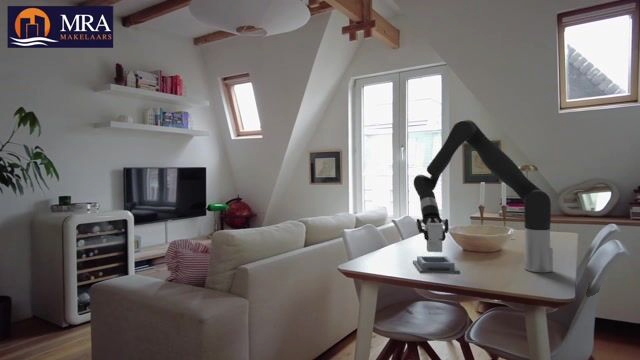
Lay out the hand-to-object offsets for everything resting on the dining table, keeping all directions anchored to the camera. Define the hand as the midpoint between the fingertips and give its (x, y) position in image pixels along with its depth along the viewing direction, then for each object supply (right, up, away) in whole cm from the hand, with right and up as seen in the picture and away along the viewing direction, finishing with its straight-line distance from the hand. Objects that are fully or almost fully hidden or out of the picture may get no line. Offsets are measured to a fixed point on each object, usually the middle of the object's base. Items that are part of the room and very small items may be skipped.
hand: (435, 239), depth 160 cm
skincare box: (0, -5, +2) cm, 6 cm away
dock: (0, -12, +2) cm, 12 cm away
